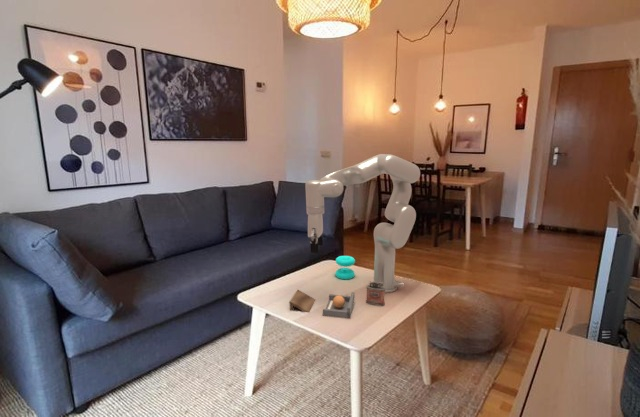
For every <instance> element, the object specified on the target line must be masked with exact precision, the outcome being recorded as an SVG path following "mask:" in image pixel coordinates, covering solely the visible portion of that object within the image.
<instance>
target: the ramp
mask: <svg viewBox="0 0 640 417" xmlns="http://www.w3.org/2000/svg"><path fill="white" fill-rule="evenodd" d="M315 302H316V298H314V297H311V296H310V295H308V294H306V293H305V292H303V291H302V290H300V289H297V290H296V291H295V293H294V295H293V296H292V298H291V299H290V300H289V302H288V303H289V311H294V310H295V308H296V309H298V310H300V311H302V312H303V313H310V312H311V311H312V308H313V307H314V304H315Z"/></svg>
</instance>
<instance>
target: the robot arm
mask: <svg viewBox="0 0 640 417" xmlns="http://www.w3.org/2000/svg"><path fill="white" fill-rule="evenodd" d="M383 174H385V175H389V177H390V179H391V181H392V185H393V189H392V192H391V195H390V198H389V200H388V203H387V205H386V208H385V210H384V216H385V218H386V219H387V220H389V221H390V222H392V223H394V224H391V223H388V222H380V223H378V224H377V225H376V226H375V227H374V229H373V241H374V242H373V243H374V264H373V265H374V268H373V281H372V282H374V281H377V282H381V283H384V286H381V287H384V288H385V293H386V294H387V293H393V292H396V291H397V289H398V287H404V282H402V281H401V280H397V279H396V278H395V267H396V266H395V265H396V249H397V250H398V249H402V248H403V247H404V246H405V244H406V243H407V241H408V240H409V238H410V234H411V232H412V230H413V229H414V225H415V224H416V223H415V222H416V220H417V219H416V218H417V212H416V210H415V208H414V207H413V206H412V205H410V204H409V202H410V199H411V196H412V190H413V188H412V185H411V184H414V183H416V182H417V181H419V179H420V177H421V169H420V167H419V166H418V165H416V164H415V163H413V162H410V161H408V160H406V159H404V158H401V157H399V156H397V155H394V154H387V153H379V154H377V155H374V156H371V157H369V158H367V159H365V160H363V161H361V162H359V163H356V164H354V165H351V166H348V167H345V168H342V169H340V170H336V171H334V172H331V173H328V174H327V175H325V176H323V177H321V178H320V179H313V180H312V179H311V180H308V181H306V182H305V185H304V186H305V204H306V205H305V206H306V207H305V208H306V215H307V237H308V238H309V239H310V240H309V244H310V246H309V247H310V253H319V246H324V241H323V240H324V236H323V232H324V221H323V215H324V214H325V198H337V197H339V196H341V195H342V194H343V192H344V186H348V185H349V186H350V185H358V184H364V183H367V182H368V181H370V180H372V179H374V178H375V177H376V178H377V177H378V176H380V175H383Z"/></svg>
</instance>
